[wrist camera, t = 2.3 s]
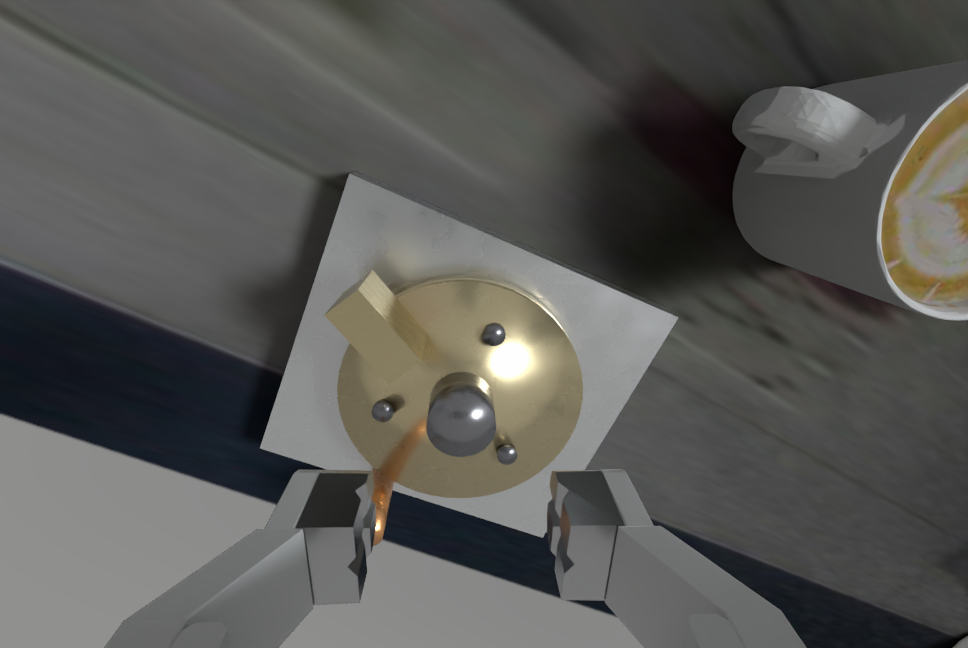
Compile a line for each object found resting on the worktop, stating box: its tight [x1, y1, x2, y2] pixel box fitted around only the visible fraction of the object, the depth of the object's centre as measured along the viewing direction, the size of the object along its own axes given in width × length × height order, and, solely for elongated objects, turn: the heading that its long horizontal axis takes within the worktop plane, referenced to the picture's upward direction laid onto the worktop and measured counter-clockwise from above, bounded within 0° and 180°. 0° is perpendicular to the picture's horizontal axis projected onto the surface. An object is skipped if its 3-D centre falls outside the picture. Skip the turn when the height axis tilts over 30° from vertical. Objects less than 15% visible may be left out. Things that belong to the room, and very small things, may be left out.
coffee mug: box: [732, 60, 968, 320], centre depth 22 cm, size 13×10×10 cm
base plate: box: [260, 172, 678, 546], centre depth 27 cm, size 20×18×7 cm
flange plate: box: [324, 270, 583, 498], centre depth 25 cm, size 16×14×5 cm
